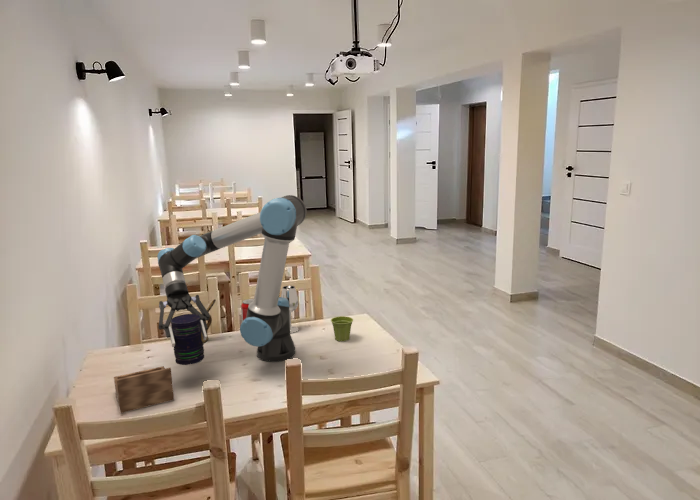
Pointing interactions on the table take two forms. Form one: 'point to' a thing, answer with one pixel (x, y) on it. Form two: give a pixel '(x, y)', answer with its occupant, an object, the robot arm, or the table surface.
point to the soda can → (245, 307)
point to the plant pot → (342, 327)
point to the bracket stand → (144, 388)
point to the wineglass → (291, 301)
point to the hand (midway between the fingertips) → (189, 341)
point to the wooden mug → (208, 320)
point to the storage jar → (187, 339)
